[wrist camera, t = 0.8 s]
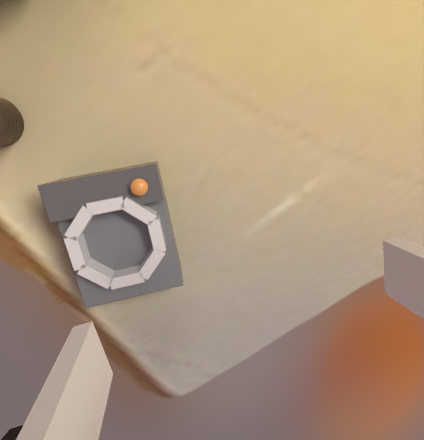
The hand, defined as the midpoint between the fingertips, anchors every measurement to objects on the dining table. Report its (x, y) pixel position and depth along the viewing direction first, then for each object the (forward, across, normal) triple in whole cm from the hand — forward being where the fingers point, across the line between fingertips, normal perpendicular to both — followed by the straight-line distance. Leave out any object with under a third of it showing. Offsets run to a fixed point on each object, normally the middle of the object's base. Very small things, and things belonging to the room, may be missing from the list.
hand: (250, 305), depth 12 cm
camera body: (+24, -9, -1) cm, 26 cm away
